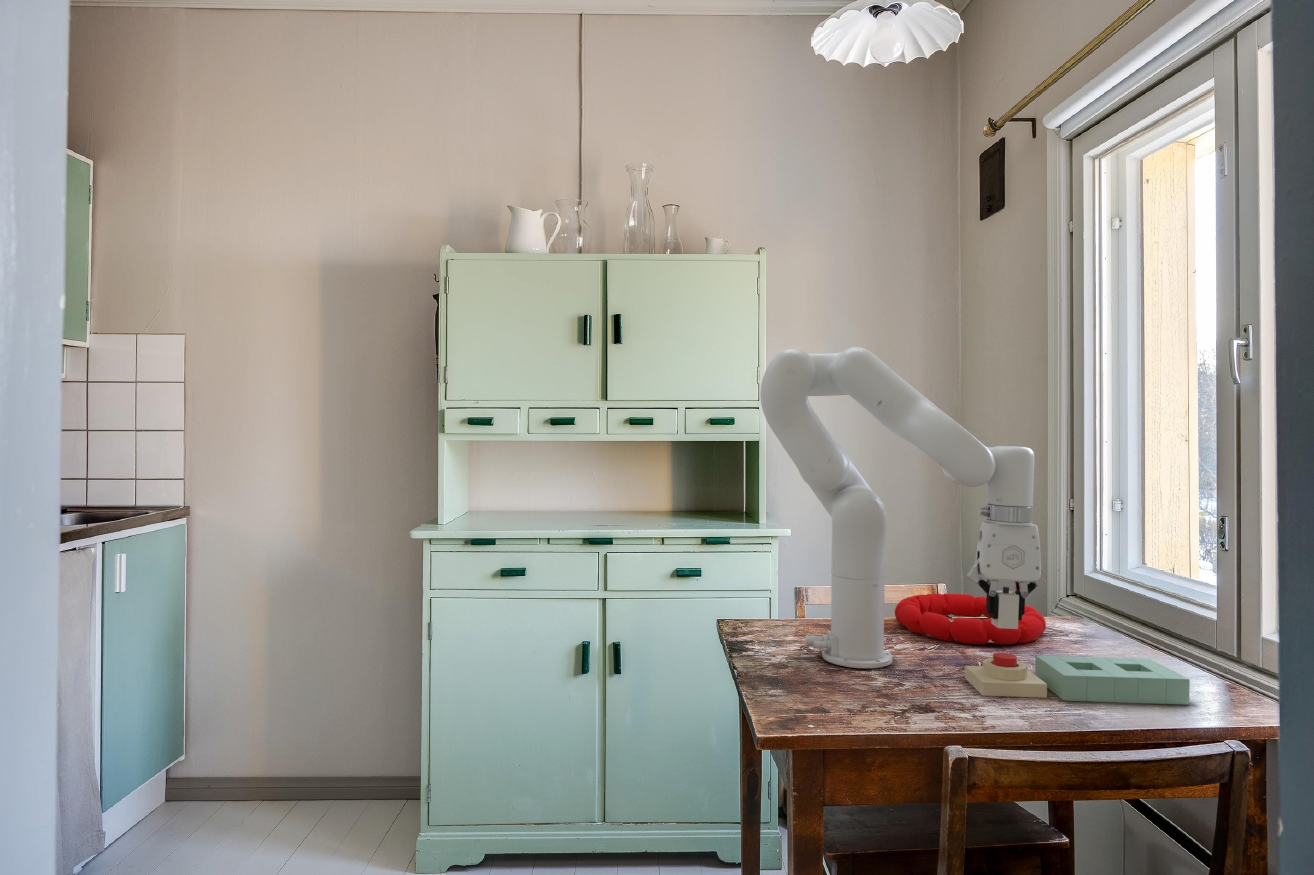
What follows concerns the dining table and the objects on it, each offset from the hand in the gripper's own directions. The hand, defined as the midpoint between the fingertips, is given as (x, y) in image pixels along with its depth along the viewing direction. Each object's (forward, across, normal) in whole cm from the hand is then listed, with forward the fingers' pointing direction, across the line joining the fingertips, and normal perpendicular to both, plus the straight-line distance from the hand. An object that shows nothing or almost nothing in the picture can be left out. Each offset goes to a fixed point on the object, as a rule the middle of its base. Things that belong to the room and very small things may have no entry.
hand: (1004, 617), depth 141 cm
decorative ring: (+9, +3, +29) cm, 31 cm away
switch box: (+9, -4, -11) cm, 15 cm away
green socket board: (+9, +13, -11) cm, 19 cm away
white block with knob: (+2, 0, 0) cm, 2 cm away
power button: (+6, -4, -11) cm, 13 cm away
